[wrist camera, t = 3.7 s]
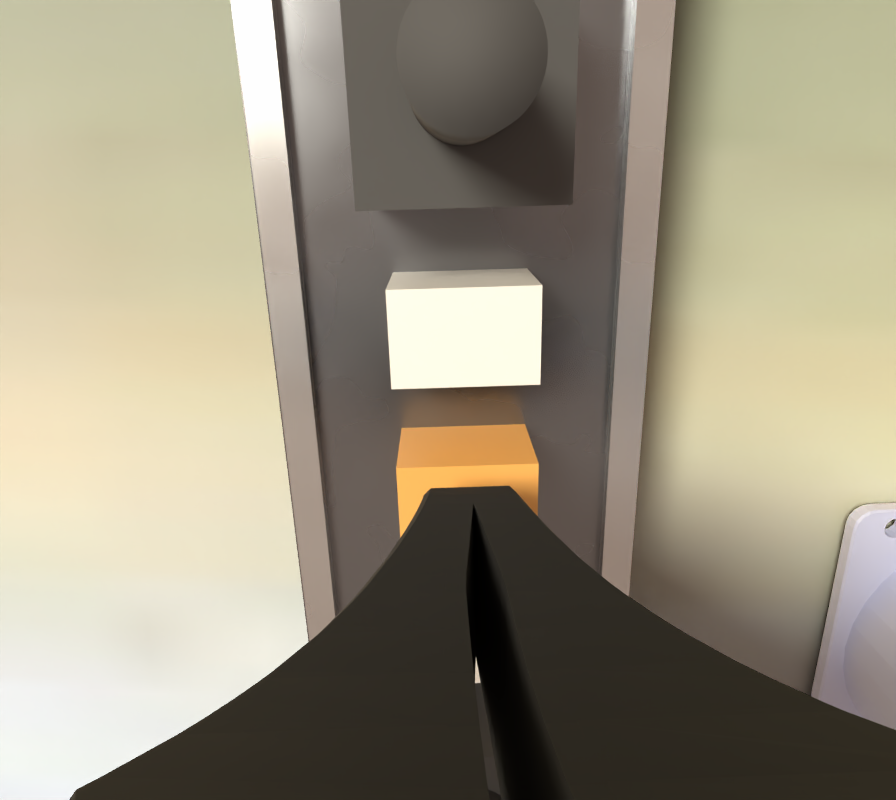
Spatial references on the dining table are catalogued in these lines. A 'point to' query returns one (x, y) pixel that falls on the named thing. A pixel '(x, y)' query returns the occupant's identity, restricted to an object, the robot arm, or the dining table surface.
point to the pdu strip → (448, 249)
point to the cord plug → (461, 102)
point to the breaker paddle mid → (464, 463)
